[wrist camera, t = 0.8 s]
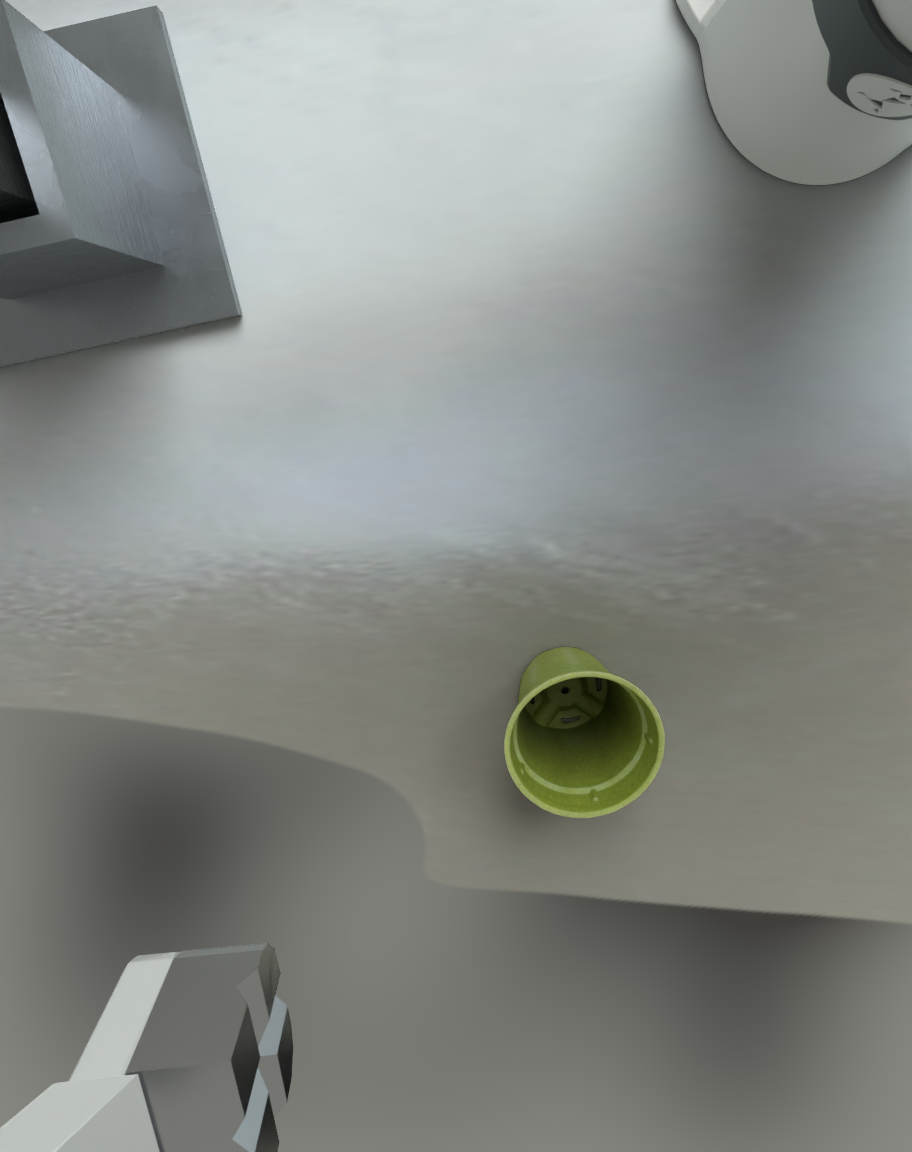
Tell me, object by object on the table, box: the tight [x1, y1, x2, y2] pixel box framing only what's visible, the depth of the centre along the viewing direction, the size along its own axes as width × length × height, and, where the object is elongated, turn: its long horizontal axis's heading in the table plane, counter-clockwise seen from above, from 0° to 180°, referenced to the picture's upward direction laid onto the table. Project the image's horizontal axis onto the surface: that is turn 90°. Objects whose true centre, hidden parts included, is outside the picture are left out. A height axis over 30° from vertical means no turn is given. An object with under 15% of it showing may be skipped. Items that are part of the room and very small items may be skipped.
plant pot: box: [504, 647, 665, 818], centre depth 51 cm, size 9×9×9 cm
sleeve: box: [0, 0, 242, 367], centre depth 39 cm, size 16×16×14 cm
